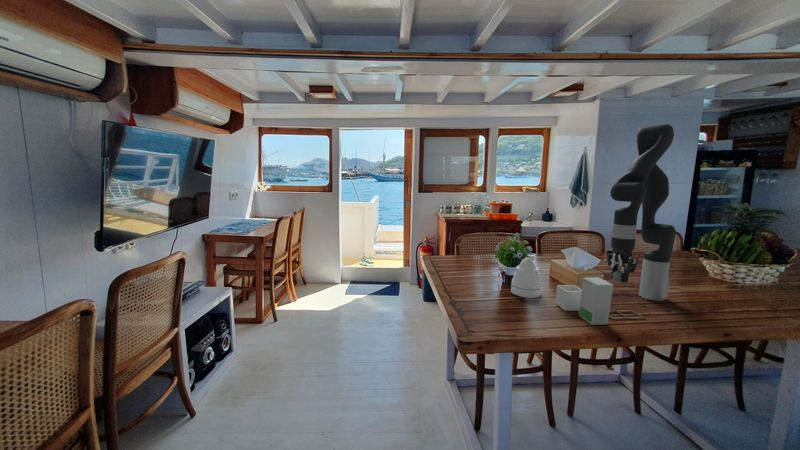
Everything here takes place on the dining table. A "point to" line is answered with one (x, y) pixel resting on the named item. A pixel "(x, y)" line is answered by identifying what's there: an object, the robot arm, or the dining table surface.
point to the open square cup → (568, 297)
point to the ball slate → (617, 276)
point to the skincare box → (595, 300)
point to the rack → (624, 315)
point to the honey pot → (526, 279)
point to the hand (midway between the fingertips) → (619, 279)
